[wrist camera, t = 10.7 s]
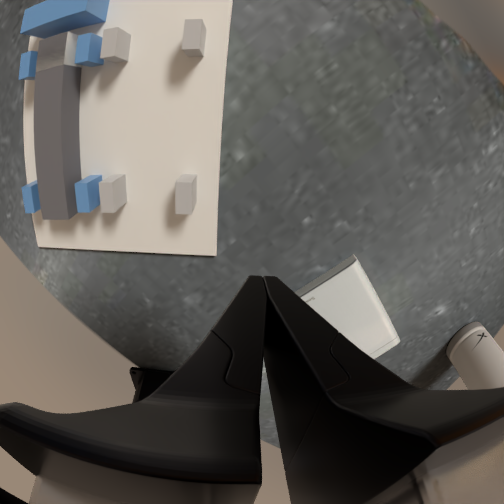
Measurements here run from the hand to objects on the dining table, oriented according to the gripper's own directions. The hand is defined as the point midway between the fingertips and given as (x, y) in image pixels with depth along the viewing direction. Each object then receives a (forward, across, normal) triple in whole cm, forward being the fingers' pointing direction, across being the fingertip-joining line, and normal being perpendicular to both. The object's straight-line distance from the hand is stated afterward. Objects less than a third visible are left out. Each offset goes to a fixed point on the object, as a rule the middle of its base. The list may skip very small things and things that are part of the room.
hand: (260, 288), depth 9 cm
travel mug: (+12, -29, +16) cm, 35 cm away
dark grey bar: (+12, +14, -5) cm, 18 cm away
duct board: (+12, +10, -5) cm, 16 cm away
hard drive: (+13, -10, +12) cm, 20 cm away
